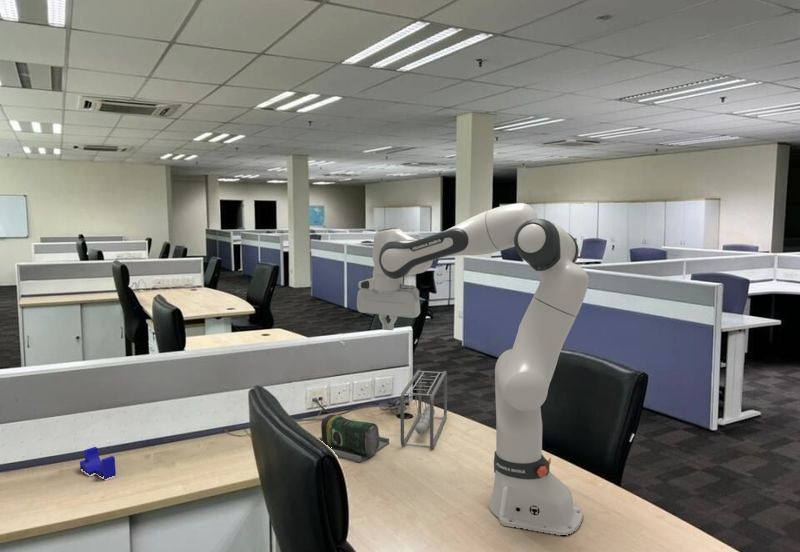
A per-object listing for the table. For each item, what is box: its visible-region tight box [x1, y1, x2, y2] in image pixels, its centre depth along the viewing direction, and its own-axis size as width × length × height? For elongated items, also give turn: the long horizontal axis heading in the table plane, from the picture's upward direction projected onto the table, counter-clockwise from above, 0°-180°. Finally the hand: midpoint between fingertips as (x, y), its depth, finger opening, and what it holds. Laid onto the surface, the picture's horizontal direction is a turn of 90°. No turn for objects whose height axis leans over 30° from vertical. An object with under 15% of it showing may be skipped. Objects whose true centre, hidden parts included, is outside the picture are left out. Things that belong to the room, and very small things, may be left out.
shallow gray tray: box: [318, 435, 390, 464], centre depth 181 cm, size 20×16×2 cm
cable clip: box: [79, 446, 117, 479], centre depth 163 cm, size 12×4×6 cm, turn 52°
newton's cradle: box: [399, 369, 448, 450], centre depth 192 cm, size 30×10×18 cm, turn 167°
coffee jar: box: [320, 414, 380, 458], centre depth 177 cm, size 10×8×19 cm
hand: (388, 329), depth 170 cm, fingers closed
